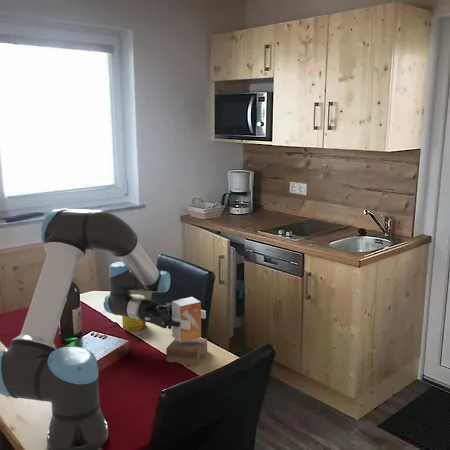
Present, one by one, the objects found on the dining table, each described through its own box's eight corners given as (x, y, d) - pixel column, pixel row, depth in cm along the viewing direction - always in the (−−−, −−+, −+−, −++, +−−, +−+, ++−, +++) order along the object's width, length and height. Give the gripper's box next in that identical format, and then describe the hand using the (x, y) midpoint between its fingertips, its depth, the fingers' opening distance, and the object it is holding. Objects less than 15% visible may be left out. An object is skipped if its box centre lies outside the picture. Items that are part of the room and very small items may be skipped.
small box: (180, 343, 173) (180, 306, 170) (172, 336, 178) (171, 300, 175) (201, 337, 177) (201, 301, 175) (192, 331, 182) (191, 296, 180)
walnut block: (197, 366, 172) (197, 352, 171) (166, 362, 175) (166, 348, 174) (207, 352, 183) (207, 339, 182) (177, 348, 186) (177, 335, 185)
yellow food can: (140, 332, 199) (139, 302, 197) (118, 330, 201) (117, 300, 199) (149, 323, 208) (148, 295, 205) (128, 321, 210) (127, 293, 207)
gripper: (161, 308, 195) (213, 318, 185) (124, 330, 175) (180, 343, 165) (160, 289, 193) (213, 299, 183) (123, 309, 174) (179, 321, 164)
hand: (197, 319), depth 174 cm, fingers closed on small box, 10 cm apart
